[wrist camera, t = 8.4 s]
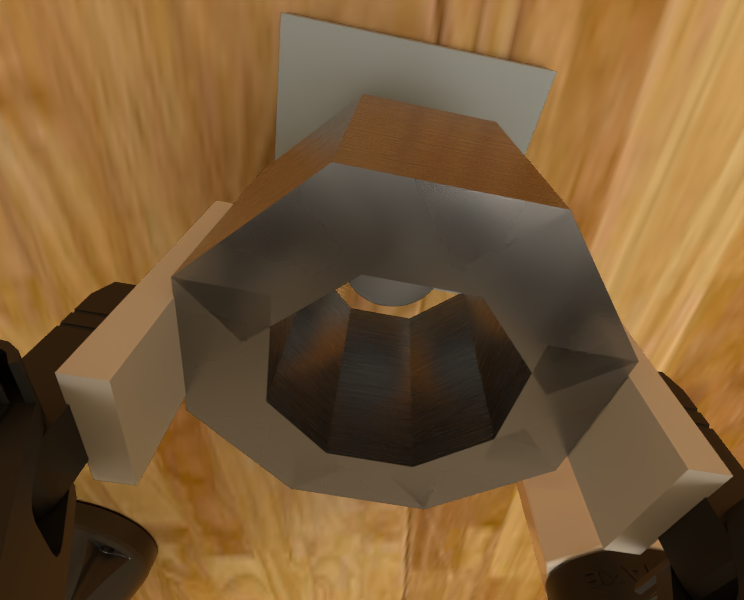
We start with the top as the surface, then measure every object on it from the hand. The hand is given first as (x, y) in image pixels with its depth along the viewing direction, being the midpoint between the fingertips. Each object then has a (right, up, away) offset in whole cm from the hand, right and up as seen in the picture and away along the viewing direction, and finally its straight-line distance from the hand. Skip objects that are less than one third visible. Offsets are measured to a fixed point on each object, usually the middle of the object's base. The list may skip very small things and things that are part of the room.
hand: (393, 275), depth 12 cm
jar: (+14, -12, +20) cm, 27 cm away
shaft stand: (0, +6, +8) cm, 10 cm away
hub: (0, +1, +1) cm, 2 cm away
